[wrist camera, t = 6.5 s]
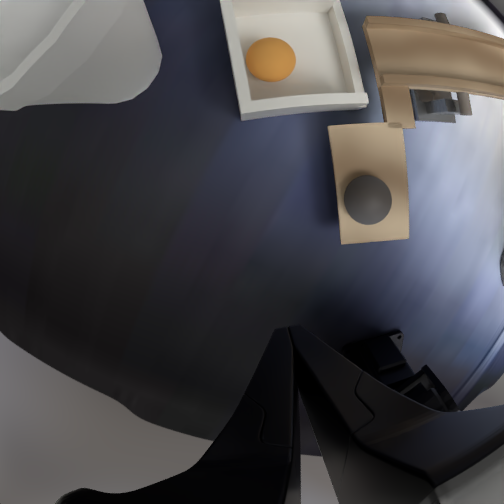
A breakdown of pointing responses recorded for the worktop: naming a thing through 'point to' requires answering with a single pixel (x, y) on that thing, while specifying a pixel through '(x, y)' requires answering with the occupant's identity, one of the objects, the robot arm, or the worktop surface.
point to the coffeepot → (502, 267)
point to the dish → (307, 57)
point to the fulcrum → (434, 104)
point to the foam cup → (75, 51)
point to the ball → (270, 59)
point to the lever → (404, 115)
